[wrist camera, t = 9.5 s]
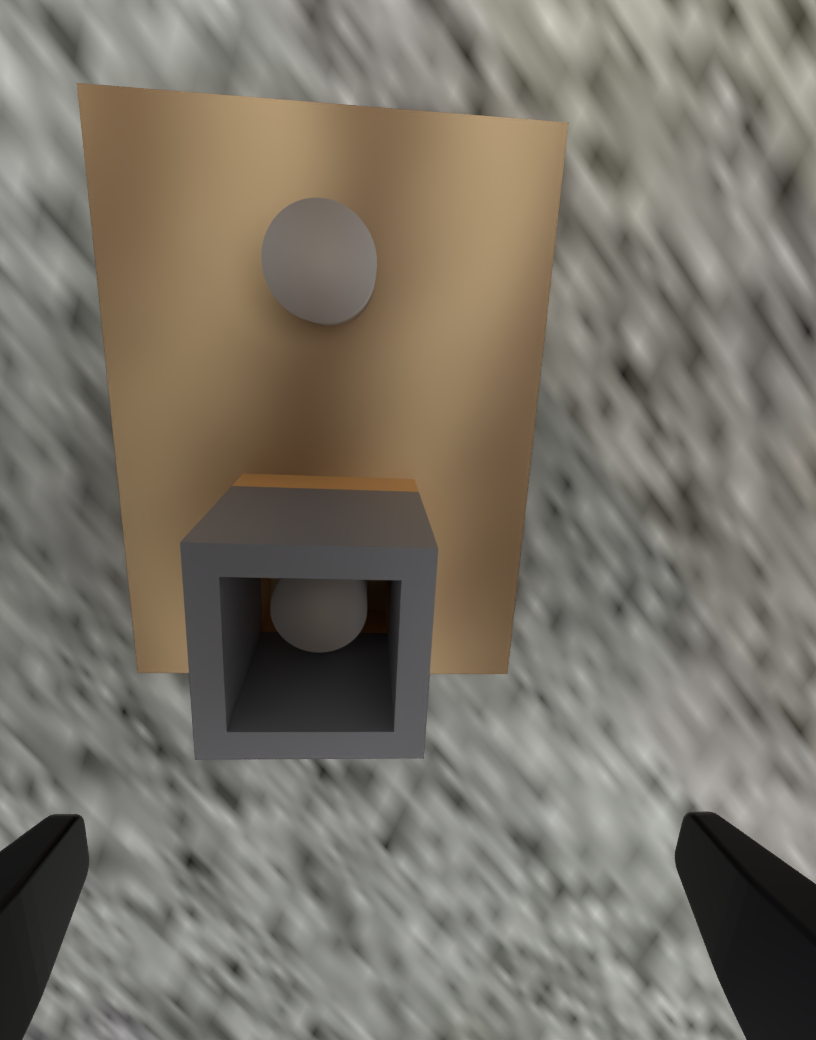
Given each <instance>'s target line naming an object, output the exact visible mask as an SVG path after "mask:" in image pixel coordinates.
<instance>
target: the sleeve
mask: <svg viewBox="0 0 816 1040" xmlns="http://www.w3.org/2000/svg"><path fill="white" fill-rule="evenodd" d="M180 552H181V566H182V581H183V595H184V609H185V624H186V638H187V652H188V667H189V681H190V695H191V710H192V724H193V739H194V753H195V760H217V759H396V758H424V749H425V735H426V721H427V706H428V692H429V678H430V663H431V649H432V634H433V620H434V606H435V591H436V577H437V562H438V546H437V543H436V540H435V537H434V534H433V531H432V528H431V525H430V523H429V520H428V517H427V514H426V511H425V508H424V505H423V502H422V499H421V497H420V494H419V491H418V488H417V485H416V482H415V479H393V478H363V477H333V476H303V475H272V474H242V475H241V476H240V477H239V479H238V480H237V481H236V482H235V483H234V484H233V485H232V486H231V487H230V488H229V489H228V491H227V492H226V493H225V494H224V495H223V496H222V497H221V498H220V499H219V500H218V501H217V503H216V504H215V505H214V506H213V507H212V508H211V509H210V510H209V511H208V512H207V513H206V515H205V516H204V517H203V518H202V519H201V520H200V521H199V522H198V523H197V524H196V525H195V526H194V528H193V529H192V530H191V531H190V532H189V533H188V534H187V535H186V536H185V537H184V538H183V540H182V541H181V542H180ZM270 578H300V579H352V580H387V585H386V609H385V610H367V617H366V621H365V624H364V626H363V628H362V630H361V632H360V633H359V634H358V635H357V637H356V638H355V639H354V640H353V641H351V642H350V643H349V644H347V645H346V646H344V647H342V648H340V649H337V650H334V651H330V652H321V653H318V652H309V651H305V650H301V649H299V648H297V647H295V646H293V645H291V644H290V643H288V642H287V641H286V640H285V639H284V638H283V637H282V636H281V635H280V634H279V633H278V631H277V630H276V628H275V626H274V624H273V621H272V618H271V612H270Z"/></svg>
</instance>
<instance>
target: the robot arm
mask: <svg viewBox="0 0 816 1040" xmlns="http://www.w3.org/2000/svg"><path fill="white" fill-rule="evenodd" d="M675 864H676V868H677V871H678V874H679V877H680V879H681V882H682V885H683V887H684V890H685V893H686V895H687V898H688V901H689V903H690V906H691V909H692V911H693V914H694V917H695V919H696V922H697V925H698V927H699V930H700V933H701V935H702V938H703V941H704V943H705V946H706V949H707V951H708V954H709V957H710V959H711V962H712V965H713V967H714V969H715V972H716V974H717V977H718V979H719V982H720V984H721V986H722V988H723V991H724V993H725V995H726V997H727V999H728V1002H729V1004H730V1006H731V1008H732V1010H733V1012H734V1014H735V1016H736V1018H737V1021H738V1023H739V1025H740V1027H741V1029H742V1031H743V1033H744V1035H745V1037H746V1039H747V1040H816V884H815V883H813V882H812V881H811V880H809V879H808V878H806V877H805V876H804V875H802V874H801V873H799V872H798V871H797V870H795V869H794V868H792V867H791V866H789V865H788V864H787V863H785V862H784V861H782V860H781V859H780V858H778V857H777V856H775V855H774V854H773V853H771V852H770V851H768V850H767V849H765V848H764V847H763V846H761V845H760V844H758V843H757V842H756V841H754V840H753V839H751V838H750V837H749V836H747V835H746V834H744V833H743V832H742V831H740V830H739V829H737V828H736V827H734V826H733V825H732V824H730V823H729V822H727V821H726V820H725V819H723V818H722V817H720V816H719V815H717V814H716V813H713V812H688V813H687V814H686V815H685V816H684V818H683V821H682V825H681V829H680V833H679V838H678V842H677V846H676V850H675ZM88 868H89V852H88V845H87V838H86V831H85V824H84V820H83V818H82V816H80V815H78V814H54V815H50V816H48V817H47V818H45V819H44V820H42V821H41V822H39V823H38V824H37V825H35V826H34V827H33V828H31V829H30V830H29V831H27V832H26V833H25V834H23V835H22V836H20V837H19V838H18V839H16V840H15V841H14V842H12V843H11V844H10V845H8V846H7V847H6V848H4V849H3V850H1V851H0V1040H22V1039H23V1037H24V1035H25V1033H26V1030H27V1028H28V1026H29V1024H30V1022H31V1020H32V1018H33V1015H34V1013H35V1011H36V1009H37V1006H38V1004H39V1002H40V1000H41V997H42V995H43V992H44V990H45V987H46V985H47V982H48V979H49V977H50V974H51V971H52V969H53V966H54V963H55V961H56V958H57V955H58V952H59V950H60V947H61V944H62V942H63V939H64V936H65V933H66V931H67V928H68V925H69V923H70V920H71V917H72V914H73V912H74V909H75V906H76V904H77V901H78V898H79V895H80V893H81V890H82V887H83V885H84V882H85V879H86V876H87V872H88Z"/></svg>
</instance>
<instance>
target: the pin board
mask: <svg viewBox="0 0 816 1040" xmlns="http://www.w3.org/2000/svg"><path fill="white" fill-rule="evenodd" d="M77 89H78V99H79V108H80V118H81V128H82V137H83V147H84V157H85V167H86V176H87V186H88V196H89V205H90V215H91V225H92V234H93V244H94V254H95V263H96V273H97V283H98V293H99V302H100V312H101V322H102V331H103V341H104V351H105V360H106V370H107V380H108V390H109V399H110V409H111V419H112V428H113V438H114V448H115V457H116V467H117V477H118V486H119V496H120V506H121V516H122V525H123V535H124V545H125V554H126V564H127V574H128V583H129V593H130V603H131V612H132V622H133V632H134V642H135V651H136V661H137V671H138V673H189V667H188V652H187V638H186V624H185V609H184V595H183V581H182V566H181V552H180V542H181V541H182V540H183V538H184V537H185V536H186V535H187V534H188V533H189V532H190V531H191V530H192V529H193V528H194V526H195V525H196V524H197V523H198V522H199V521H200V520H201V519H202V518H203V517H204V516H205V515H206V513H207V512H208V511H209V510H210V509H211V508H212V507H213V506H214V505H215V504H216V503H217V501H218V500H219V499H220V498H221V497H222V496H223V495H224V494H225V493H226V492H227V491H228V489H229V488H230V487H231V486H232V485H233V484H234V483H235V482H236V481H237V480H238V479H239V477H240V476H241V475H242V474H272V475H303V476H333V477H363V478H393V479H415V482H416V485H417V488H418V491H419V494H420V497H421V499H422V502H423V505H424V508H425V511H426V514H427V517H428V520H429V523H430V525H431V528H432V531H433V534H434V537H435V540H436V543H437V546H438V562H437V577H436V591H435V606H434V620H433V634H432V649H431V663H430V674H507V673H508V664H509V655H510V646H511V637H512V628H513V619H514V610H515V601H516V592H517V583H518V573H519V564H520V555H521V546H522V537H523V528H524V519H525V510H526V501H527V492H528V483H529V474H530V465H531V456H532V447H533V438H534V429H535V420H536V411H537V402H538V393H539V384H540V375H541V366H542V357H543V348H544V339H545V330H546V321H547V312H548V303H549V293H550V284H551V275H552V266H553V257H554V248H555V239H556V230H557V221H558V212H559V203H560V194H561V185H562V176H563V167H564V158H565V149H566V140H567V131H568V123H566V122H553V121H541V120H529V119H516V118H504V117H491V116H479V115H467V114H454V113H442V112H429V111H417V110H405V109H392V108H380V107H367V106H355V105H343V104H330V103H318V102H305V101H293V100H281V99H268V98H256V97H243V96H231V95H219V94H206V93H194V92H181V91H169V90H157V89H144V88H132V87H119V86H107V85H95V84H82V83H77ZM386 585H387V580H352V579H300V578H270V612H271V618H272V621H273V624H274V626H275V628H276V630H277V631H278V633H279V634H280V635H281V636H282V637H283V638H284V639H285V640H286V641H287V642H288V643H290V644H291V645H293V646H295V647H297V648H299V649H301V650H305V651H309V652H318V653H321V652H330V651H334V650H337V649H340V648H342V647H344V646H346V645H347V644H349V643H350V642H351V641H353V640H354V639H355V638H356V637H357V635H358V634H359V633H360V632H361V630H362V628H363V626H364V624H365V621H366V617H367V610H385V609H386Z"/></svg>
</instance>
